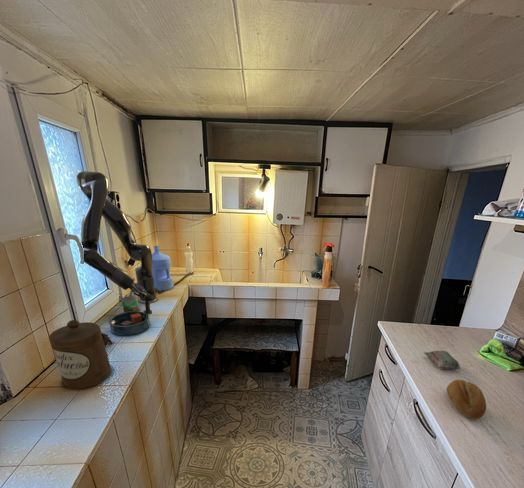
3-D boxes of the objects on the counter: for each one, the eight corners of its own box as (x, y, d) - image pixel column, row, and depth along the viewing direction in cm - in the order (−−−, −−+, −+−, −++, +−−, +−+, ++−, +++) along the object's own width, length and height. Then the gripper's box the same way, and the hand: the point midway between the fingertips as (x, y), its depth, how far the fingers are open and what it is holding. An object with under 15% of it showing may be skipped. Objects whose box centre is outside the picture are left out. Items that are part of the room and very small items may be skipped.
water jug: (144, 290, 187) (137, 247, 176) (159, 283, 201) (153, 243, 189) (164, 292, 183) (159, 249, 172) (178, 285, 197) (173, 245, 185)
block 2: (140, 320, 143) (138, 313, 141) (142, 323, 140) (141, 315, 138) (131, 322, 140) (130, 315, 139) (134, 325, 138) (133, 317, 136)
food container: (135, 316, 149) (131, 298, 145) (123, 315, 149) (120, 298, 145) (144, 307, 160) (141, 290, 156) (133, 307, 160) (130, 290, 156)
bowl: (120, 320, 144) (118, 311, 142) (155, 320, 145) (153, 311, 143) (103, 336, 128) (101, 326, 126) (142, 336, 129) (141, 326, 127)
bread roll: (454, 419, 86) (463, 399, 83) (437, 389, 99) (444, 370, 96) (489, 425, 84) (500, 404, 81) (468, 393, 98) (475, 374, 94)
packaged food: (436, 372, 108) (440, 361, 106) (421, 356, 119) (425, 346, 117) (459, 373, 108) (463, 362, 106) (442, 357, 119) (446, 347, 117)
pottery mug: (119, 344, 123) (113, 334, 116) (104, 361, 118) (96, 352, 111) (96, 333, 125) (89, 323, 118) (80, 350, 119) (72, 340, 113)
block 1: (128, 327, 135) (126, 320, 133) (134, 329, 133) (133, 322, 132) (121, 331, 131) (119, 323, 130) (127, 333, 130) (126, 325, 128)
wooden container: (53, 384, 96) (33, 327, 87) (88, 361, 109) (73, 309, 100) (88, 393, 93) (71, 334, 84) (120, 368, 106) (108, 315, 97)
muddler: (147, 311, 150) (145, 291, 145) (153, 312, 149) (151, 292, 144) (142, 313, 146) (140, 293, 142) (149, 315, 145) (147, 294, 141)
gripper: (126, 276, 130) (157, 298, 139) (127, 269, 142) (156, 290, 151) (115, 288, 130) (147, 309, 140) (117, 280, 142) (146, 300, 151)
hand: (151, 299), depth 145 cm, fingers closed on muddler, 2 cm apart
